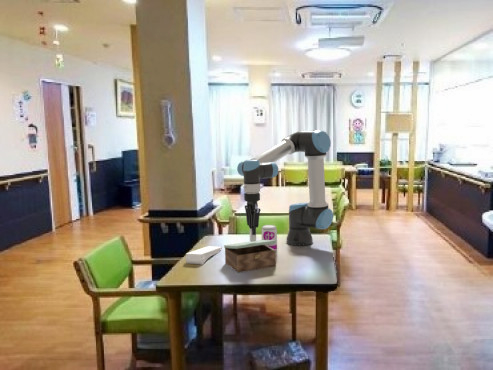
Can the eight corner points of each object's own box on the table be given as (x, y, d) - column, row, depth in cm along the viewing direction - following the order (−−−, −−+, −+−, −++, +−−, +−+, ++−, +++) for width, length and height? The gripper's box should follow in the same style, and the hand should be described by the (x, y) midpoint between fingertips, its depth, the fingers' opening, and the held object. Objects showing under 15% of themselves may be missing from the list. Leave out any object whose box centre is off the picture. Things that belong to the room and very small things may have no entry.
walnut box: (261, 257, 226) (260, 242, 225) (276, 266, 211) (276, 250, 210) (225, 263, 218) (224, 247, 217) (238, 273, 203) (238, 256, 202)
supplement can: (276, 256, 228) (275, 228, 226) (260, 255, 230) (260, 227, 228) (278, 252, 236) (277, 224, 234) (263, 251, 237) (262, 224, 235)
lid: (261, 242, 225) (261, 240, 225) (276, 242, 210) (275, 240, 210) (224, 247, 217) (224, 245, 217) (236, 248, 202) (236, 246, 202)
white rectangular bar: (208, 259, 245) (186, 268, 219) (205, 246, 246) (183, 254, 219) (224, 256, 242) (204, 264, 216) (221, 243, 243) (200, 250, 216)
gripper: (239, 191, 211) (240, 239, 214) (250, 194, 199) (251, 245, 202) (253, 190, 214) (254, 237, 217) (265, 193, 202) (266, 243, 205)
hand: (253, 241), depth 209 cm, fingers closed
